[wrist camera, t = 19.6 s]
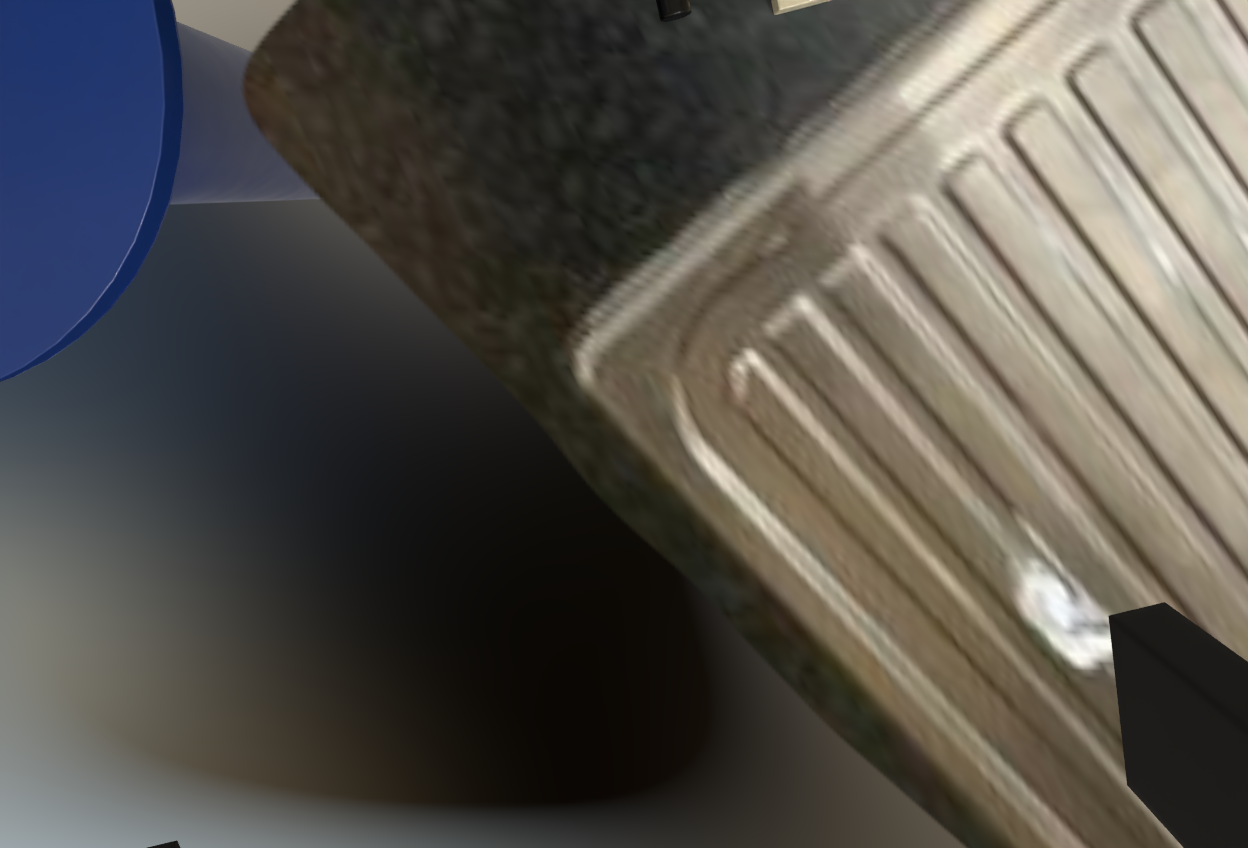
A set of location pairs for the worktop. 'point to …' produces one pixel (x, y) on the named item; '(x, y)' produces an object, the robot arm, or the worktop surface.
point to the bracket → (792, 5)
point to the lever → (673, 9)
